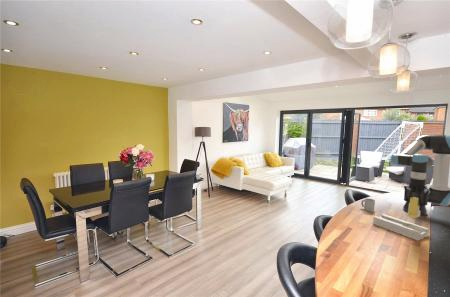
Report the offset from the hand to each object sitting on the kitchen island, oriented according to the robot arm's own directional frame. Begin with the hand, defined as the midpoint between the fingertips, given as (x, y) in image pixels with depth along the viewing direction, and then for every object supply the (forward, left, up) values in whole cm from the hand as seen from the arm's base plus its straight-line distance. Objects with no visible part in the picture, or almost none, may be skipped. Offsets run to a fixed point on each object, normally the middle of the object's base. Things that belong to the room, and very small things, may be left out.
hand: (413, 213), depth 145 cm
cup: (-18, -40, -14) cm, 46 cm away
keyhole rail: (0, -8, -14) cm, 16 cm away
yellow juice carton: (0, 0, -2) cm, 2 cm away
